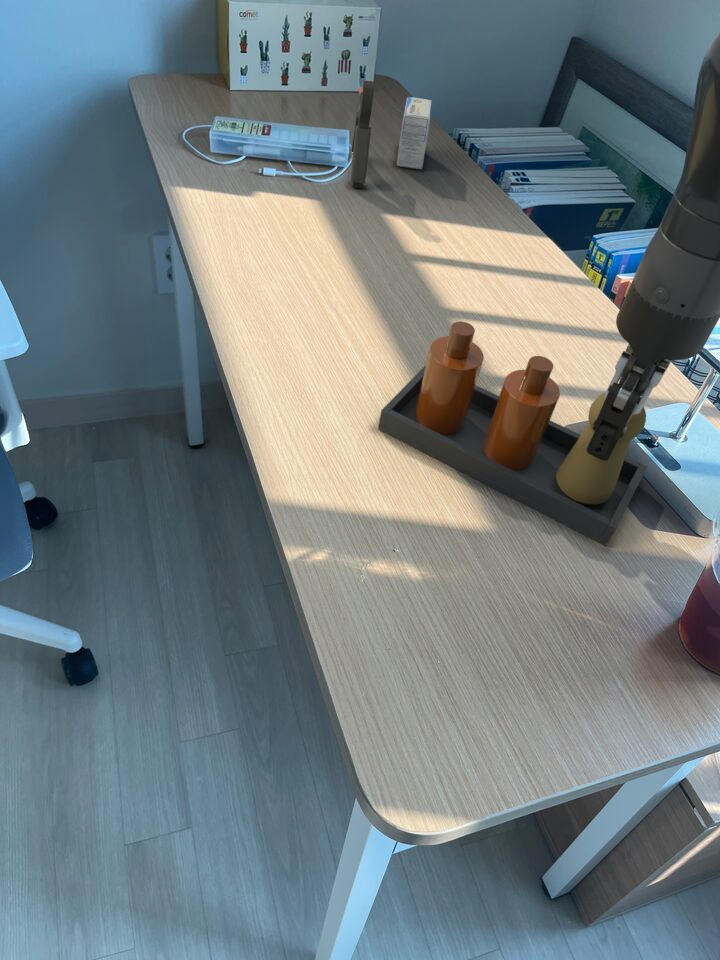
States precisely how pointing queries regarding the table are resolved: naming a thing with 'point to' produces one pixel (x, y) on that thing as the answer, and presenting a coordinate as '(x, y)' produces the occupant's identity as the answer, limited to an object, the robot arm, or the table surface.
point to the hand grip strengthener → (362, 135)
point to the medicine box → (414, 133)
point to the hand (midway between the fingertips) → (607, 437)
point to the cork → (596, 461)
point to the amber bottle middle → (522, 415)
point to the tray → (522, 485)
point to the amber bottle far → (449, 380)
